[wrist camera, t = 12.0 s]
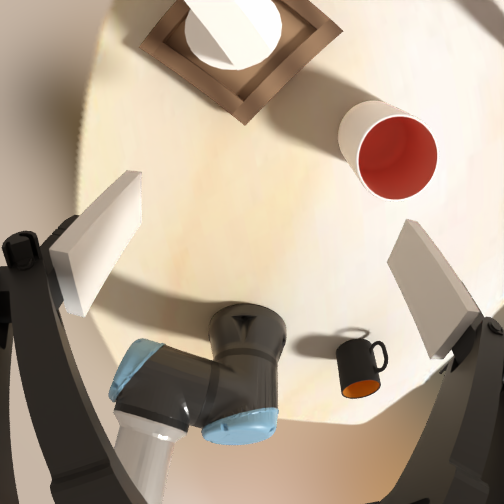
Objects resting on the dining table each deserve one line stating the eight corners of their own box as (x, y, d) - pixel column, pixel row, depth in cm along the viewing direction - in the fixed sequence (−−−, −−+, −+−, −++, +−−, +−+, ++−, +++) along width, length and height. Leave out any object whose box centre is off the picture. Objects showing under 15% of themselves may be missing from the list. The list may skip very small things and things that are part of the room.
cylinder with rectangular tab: (294, 44, 27) (309, 36, 18) (226, 82, 30) (206, 94, 21) (251, -16, 23) (242, -50, 13) (183, 25, 26) (143, 12, 17)
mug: (391, 337, 60) (402, 376, 51) (352, 363, 66) (358, 401, 57) (368, 324, 57) (379, 366, 49) (328, 353, 63) (333, 393, 55)
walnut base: (247, 118, 36) (245, 125, 32) (151, 47, 30) (138, 47, 27) (335, 33, 28) (343, 31, 25) (234, -42, 23) (231, -53, 19)
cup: (325, 110, 35) (344, 127, 26) (395, 91, 32) (431, 105, 24) (347, 177, 40) (366, 212, 32) (410, 159, 37) (443, 189, 29)
